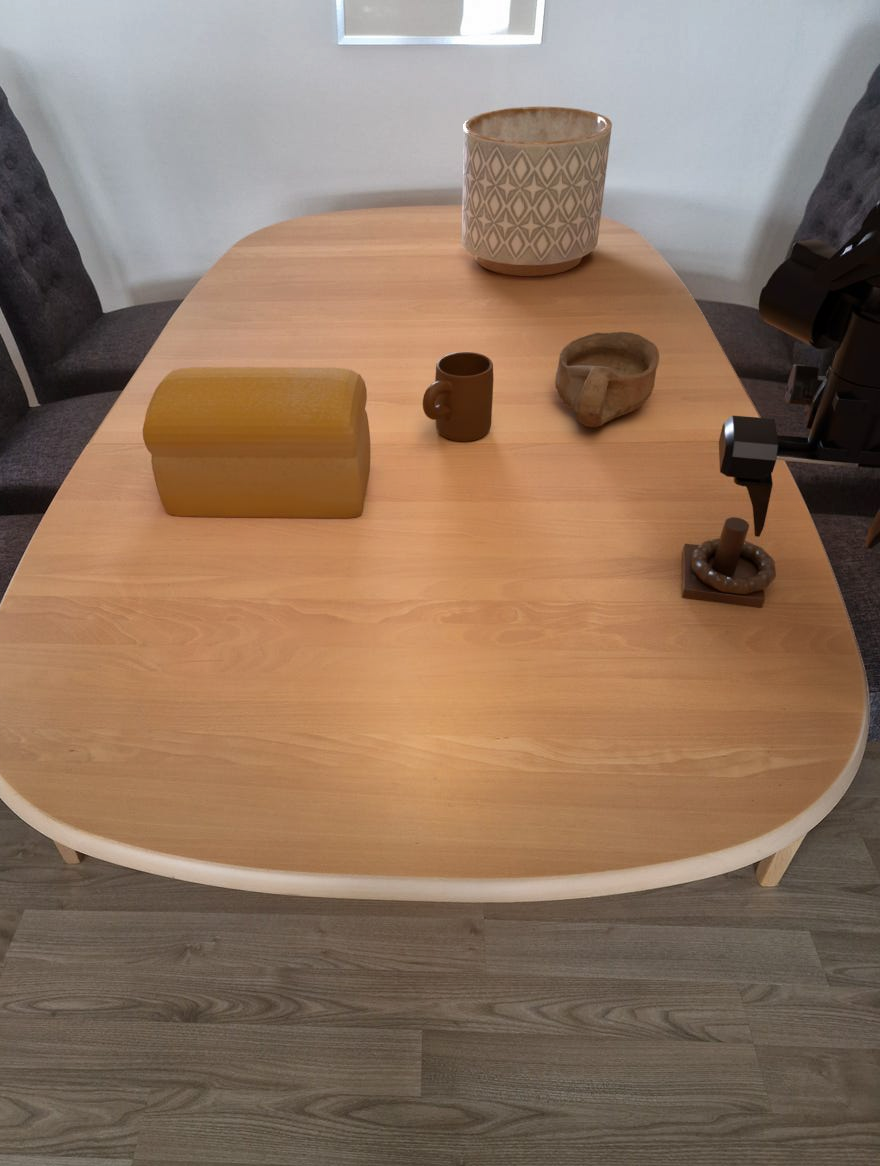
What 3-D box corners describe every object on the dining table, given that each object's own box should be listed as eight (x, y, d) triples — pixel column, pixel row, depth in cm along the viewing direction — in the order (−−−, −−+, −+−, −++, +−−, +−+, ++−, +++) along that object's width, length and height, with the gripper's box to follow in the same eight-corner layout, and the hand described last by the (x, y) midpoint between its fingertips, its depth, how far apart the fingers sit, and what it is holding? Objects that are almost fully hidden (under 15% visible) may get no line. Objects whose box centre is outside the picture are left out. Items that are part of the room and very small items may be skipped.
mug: (448, 464, 108) (449, 397, 101) (403, 445, 112) (401, 379, 105) (502, 426, 114) (505, 360, 108) (458, 409, 118) (458, 345, 112)
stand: (757, 560, 92) (775, 506, 87) (762, 608, 86) (781, 552, 81) (682, 551, 93) (695, 497, 88) (681, 597, 88) (696, 542, 83)
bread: (372, 462, 109) (365, 352, 98) (362, 520, 100) (353, 405, 89) (189, 460, 111) (163, 352, 100) (162, 517, 101) (131, 404, 91)
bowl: (671, 438, 108) (663, 367, 101) (563, 459, 112) (548, 393, 106) (660, 373, 120) (652, 306, 114) (562, 395, 125) (549, 332, 118)
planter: (493, 291, 149) (499, 150, 133) (442, 245, 166) (442, 116, 151) (620, 268, 154) (640, 131, 139) (557, 227, 172) (569, 100, 156)
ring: (770, 552, 91) (774, 540, 90) (775, 601, 85) (780, 589, 84) (690, 542, 92) (693, 531, 91) (690, 590, 87) (693, 579, 85)
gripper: (983, 336, 67) (910, 500, 77) (738, 322, 71) (701, 480, 81) (1022, 400, 59) (935, 574, 70) (743, 381, 63) (701, 548, 74)
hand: (811, 539), depth 74 cm, fingers open, 9 cm apart
